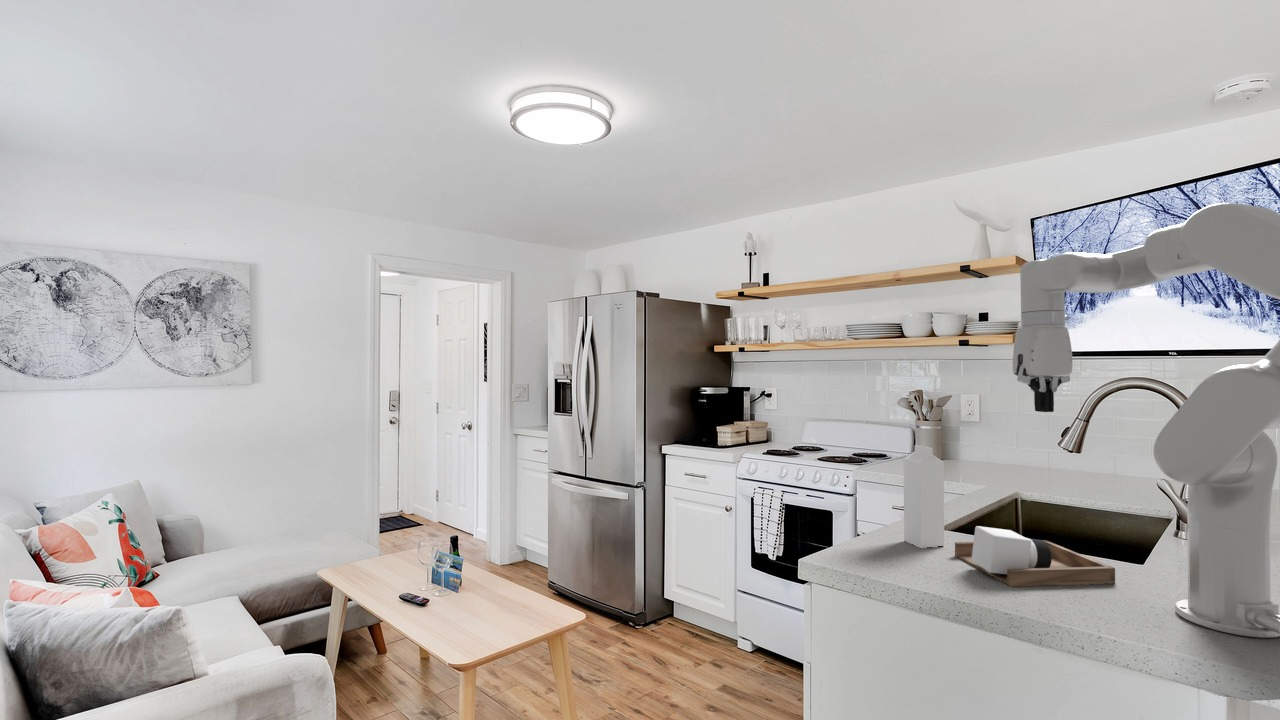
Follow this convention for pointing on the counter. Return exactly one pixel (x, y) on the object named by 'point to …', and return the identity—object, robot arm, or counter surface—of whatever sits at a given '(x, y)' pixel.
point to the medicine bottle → (1008, 551)
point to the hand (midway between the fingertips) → (1044, 411)
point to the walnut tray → (1050, 569)
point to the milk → (923, 498)
